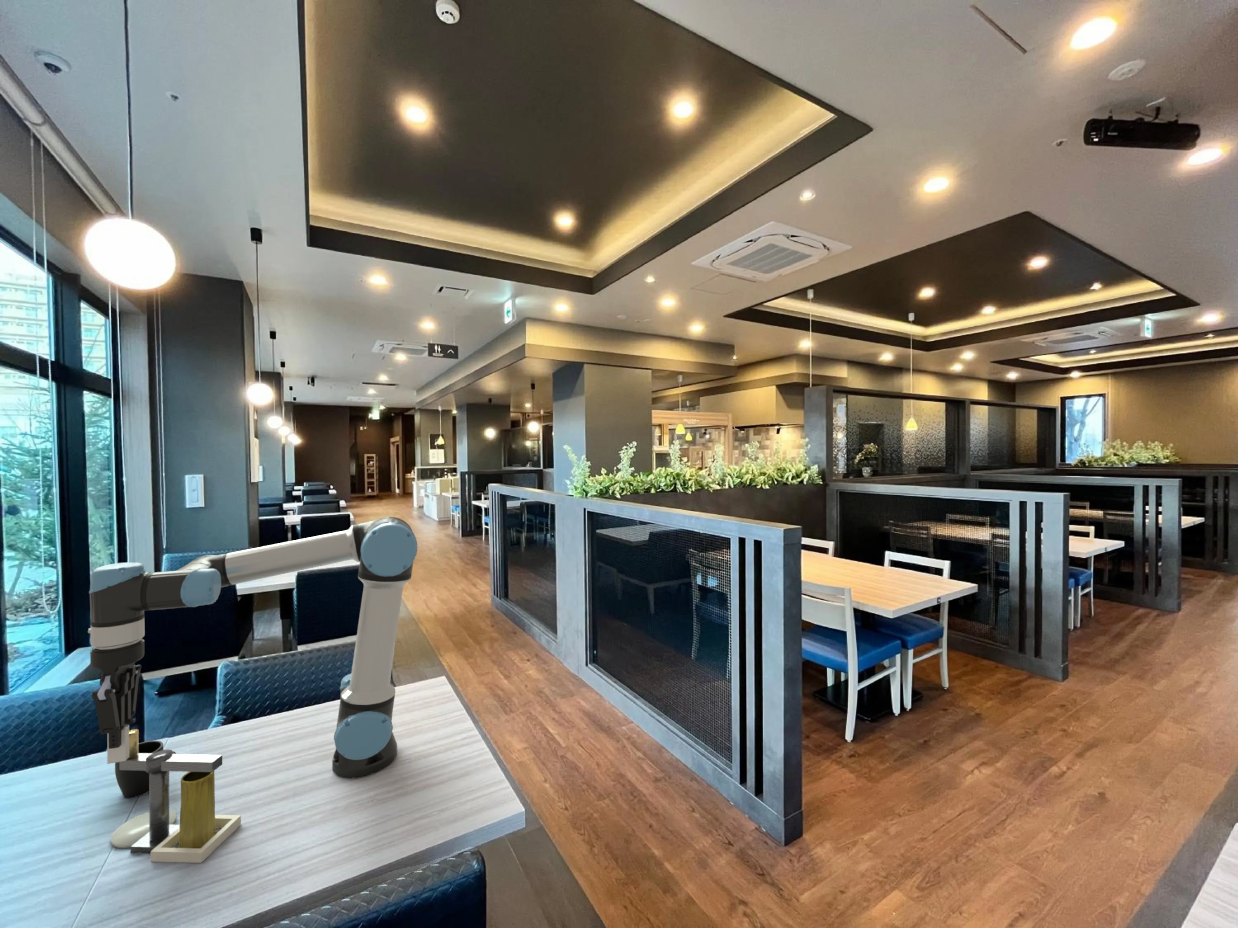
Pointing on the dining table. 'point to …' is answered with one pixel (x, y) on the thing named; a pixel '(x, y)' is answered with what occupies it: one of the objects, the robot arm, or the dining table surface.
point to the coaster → (135, 830)
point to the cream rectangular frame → (195, 855)
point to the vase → (197, 809)
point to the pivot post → (156, 814)
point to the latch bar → (166, 759)
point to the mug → (136, 773)
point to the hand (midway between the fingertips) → (118, 759)
